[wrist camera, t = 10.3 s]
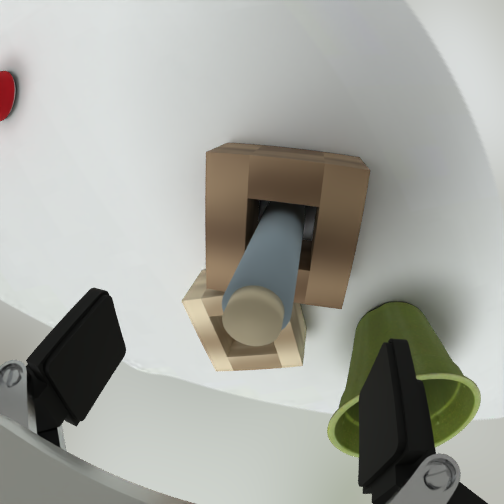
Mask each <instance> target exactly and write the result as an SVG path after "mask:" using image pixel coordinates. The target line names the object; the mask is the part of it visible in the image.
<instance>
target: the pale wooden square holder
mask: <svg viewBox="0 0 504 504" xmlns="http://www.w3.org/2000/svg"><path fill="white" fill-rule="evenodd" d="M224 293H225V292H223V291H217V290H211V289H206V270H202V271H201V273H200V274H199V276H198V277H197V279H196V280H195V281H194V283H193V284H192V286H191V287H190V289H189V290H188V292H187V294H186V295H185V297H184V298H183V300H182V303H183V305H184V307H185V309H186V312H187V314H188V316H189V318H190V320H191V322H192V324H193V326H194V328H195V330H196V332H197V335H198V337H199V339H200V341H201V343H202V345H203V347H204V349H205V351H206V353H207V355H208V357H209V358H210V360H211V362H212V364H213V366H214V368H215V370H216V371H239V370H258V369H272V368H285V367H296V366H303V358H304V348H305V338H306V325H305V321H304V317H303V313H302V309H301V305H300V303H293V308H292V314H291V319H290V321H289V323H288V324H287V326H286V327H285V328H284V329H282V330H281V332H280V335H279V336H278V338H277V339H276V340H274V341H273V342H272V343H270V344H267V345H263V346H249V345H245V344H242V343H240V342H238V341H236V340H235V339H233V338H232V337H231V336H230V335H229V334H228V333H227V331H226V330H225V328H224V326H223V322H222V316H223V313H224V312H223V309H222V299H223V295H224Z"/></svg>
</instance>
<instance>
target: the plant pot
mask: <svg viewBox="0 0 504 504" xmlns="http://www.w3.org/2000/svg"><path fill="white" fill-rule="evenodd" d="M390 338H393V339H405V340H407V341H408V343H409V347H410V351H411V355H412V360H413V364H414V369H415V373H416V378H417V379H419V380H421V381H422V382H423V384H424V387H425V392H426V397H427V402H428V408H429V413H430V419H431V424H432V431H433V437H434V444H435V447H437V446H439V445H441V444H443V443H445V442H446V441H448V440H450V439H451V438H453V437H454V436H456V435H457V434H458V433H459V432H460V431H462V430H463V429H464V428H465V427H466V426H467V425H468V424H469V423H470V421H471V420H472V419H473V418H474V416H475V415H476V413H477V411H478V409H479V406H480V401H481V395H480V391H479V389H478V387H477V385H476V384H475V383H474V382H473V381H472V380H471V379H469V378H467V377H465V376H464V375H463V373H462V372H461V370H460V369H459V367H458V366H457V365H456V364H455V363H454V362H453V361H452V359H451V358H450V356H449V355H448V353H447V351H446V350H445V348H444V346H443V345H442V343H441V341H440V340H439V338H438V337H437V335H436V333H435V332H434V330H433V329H432V327H431V325H430V324H429V322H428V321H427V319H426V318H425V316H424V315H423V313H422V312H421V311H420V310H419V309H418V308H417V307H415V306H413V305H411V304H408V303H404V302H390V303H386V304H383V305H382V306H380V307H379V308H377V309H375V310H373V311H370V312H368V313H367V314H366V315H365V316H364V317H363V318H362V319H361V321H360V322H359V324H358V326H357V328H356V332H355V338H354V345H353V351H352V357H351V362H350V368H349V374H348V379H347V384H346V389H345V391H344V393H343V395H342V397H341V401H340V405H339V409H338V410H337V411H336V412H335V413H334V414H333V416H332V418H331V419H330V422H329V425H328V430H327V433H328V437H329V440H330V441H331V443H332V444H333V445H334V446H335V447H336V448H337V449H339V450H340V451H342V452H344V453H346V454H348V455H351V456H354V457H358V458H359V394H360V391H361V389H362V387H363V385H364V383H365V381H366V379H367V377H368V375H369V373H370V371H371V368H372V366H373V364H374V362H375V360H376V357H377V355H378V353H379V351H380V348H381V346H382V344H383V343H384V342H388V341H389V339H390Z"/></svg>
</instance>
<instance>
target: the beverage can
mask: <svg viewBox="0 0 504 504" xmlns="http://www.w3.org/2000/svg"><path fill="white" fill-rule="evenodd" d="M15 95H16V87H15V82H14V79H13V77H12V75H11V74H10V73H9V72H7V71H0V121H2V120H4V119H5V118H6V117H7V116H8V115H9V113H10V111H11V109H12V107H13V104H14V101H15Z"/></svg>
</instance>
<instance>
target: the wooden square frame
mask: <svg viewBox="0 0 504 504" xmlns="http://www.w3.org/2000/svg"><path fill="white" fill-rule="evenodd" d="M369 175H370V170H369V168H368V167H367V166H366V165H365V163H364V162H363V161H362V160H361V159H360V157H354V156H348V155H341V154H334V153H327V152H320V151H312V150H304V149H296V148H286V147H277V146H266V145H254V144H240V143H226V144H223V145H221V146H219V147H217V148H214V149H212V150H210V151H207V152H206V195H205V230H206V289H211V290H217V291H223V292H225V291H226V289H227V287H228V285H229V283H230V281H231V279H232V277H233V275H234V273H235V271H236V269H237V267H238V265H239V263H240V261H241V259H242V257H243V255H244V253H245V250H246V248H247V246H248V244H249V242H250V240H251V238H252V236H253V234H254V232H255V230H256V228H257V226H258V216H259V201H260V200H267V201H276V202H284V203H292V204H300V205H307V206H315V207H317V208H316V215H315V223H314V230H313V237H312V241H311V240H304V239H302V245H301V252H300V260H299V267H298V274H297V281H296V288H295V295H294V301H293V303H300V304H307V305H314V306H322V307H329V308H337V309H342V305H343V301H344V298H345V294H346V290H347V285H348V281H349V277H350V273H351V269H352V264H353V260H354V255H355V251H356V246H357V241H358V236H359V231H360V226H361V221H362V216H363V211H364V205H365V199H366V194H367V188H368V181H369Z"/></svg>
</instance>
